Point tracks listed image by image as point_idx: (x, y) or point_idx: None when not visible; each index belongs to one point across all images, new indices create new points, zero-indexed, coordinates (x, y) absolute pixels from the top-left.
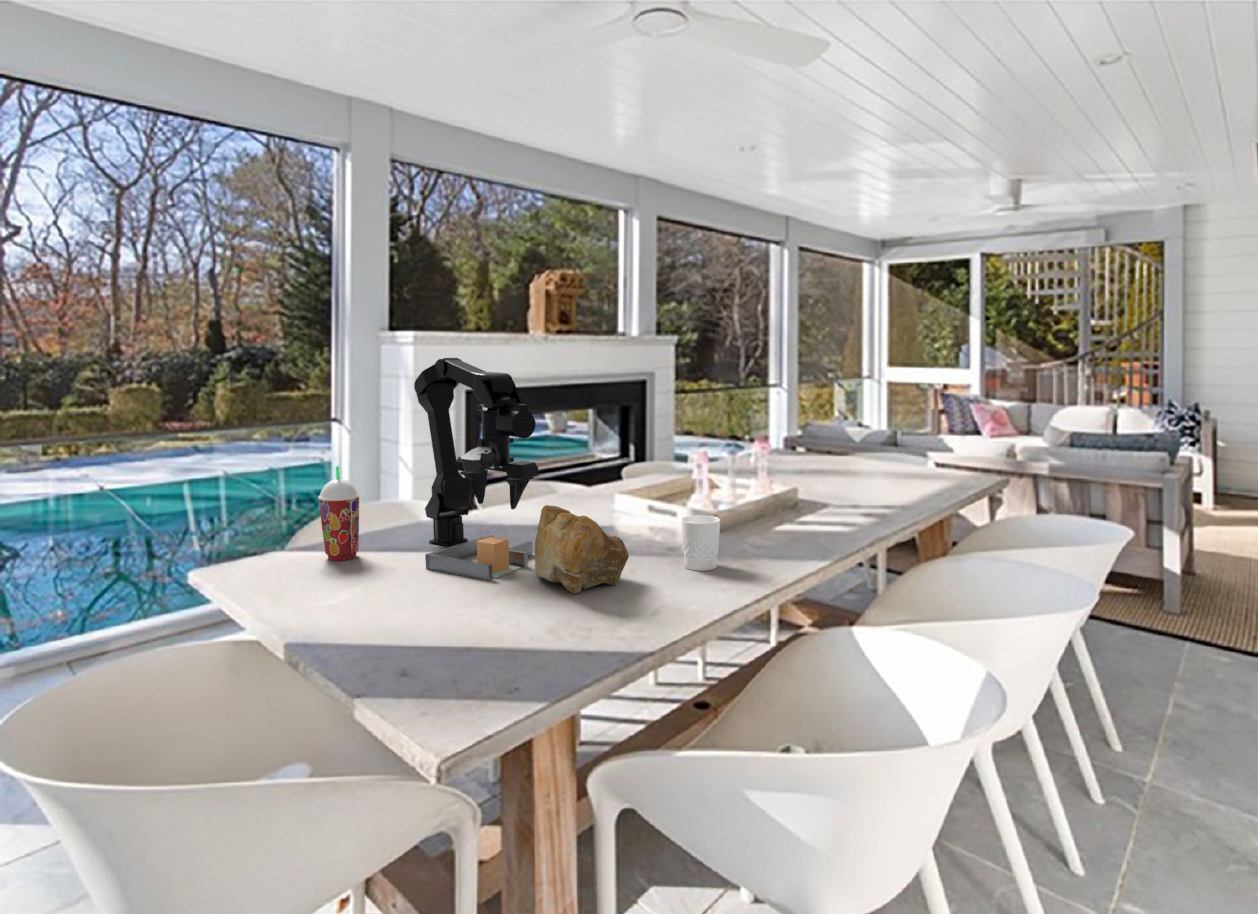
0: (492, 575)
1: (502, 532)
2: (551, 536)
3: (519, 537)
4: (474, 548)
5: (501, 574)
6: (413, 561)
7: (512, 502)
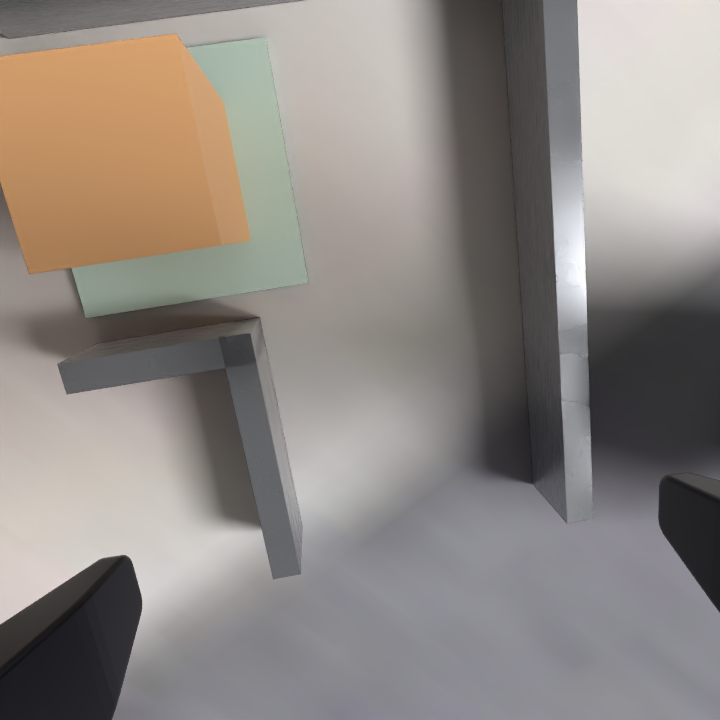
0: None
1: (711, 685)
2: None
3: (578, 681)
4: (538, 348)
5: None
6: (710, 6)
7: (18, 613)
